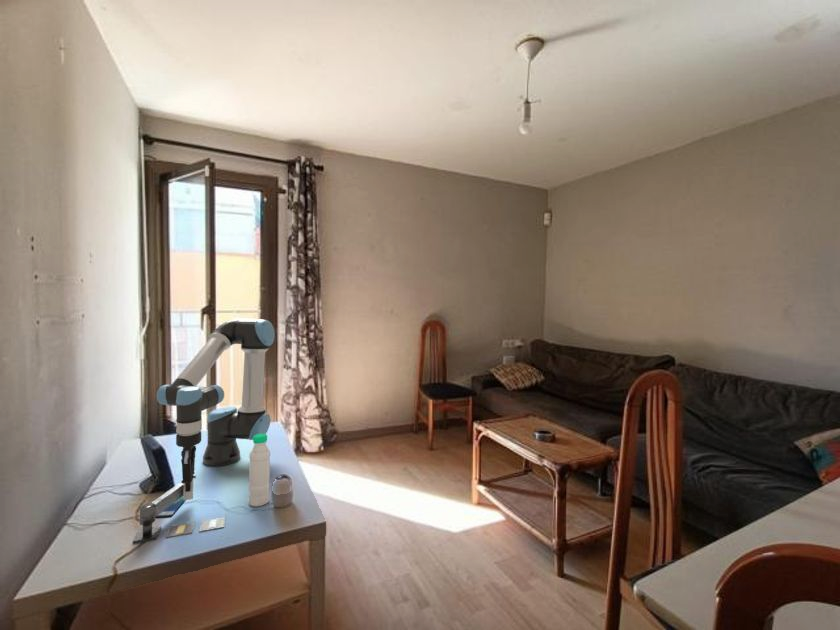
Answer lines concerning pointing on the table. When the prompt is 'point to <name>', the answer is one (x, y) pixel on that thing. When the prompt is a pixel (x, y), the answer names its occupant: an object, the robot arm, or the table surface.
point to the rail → (160, 504)
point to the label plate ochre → (180, 529)
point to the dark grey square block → (147, 534)
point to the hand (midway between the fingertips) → (188, 498)
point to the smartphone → (171, 509)
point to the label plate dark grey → (212, 524)
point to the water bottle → (259, 471)
